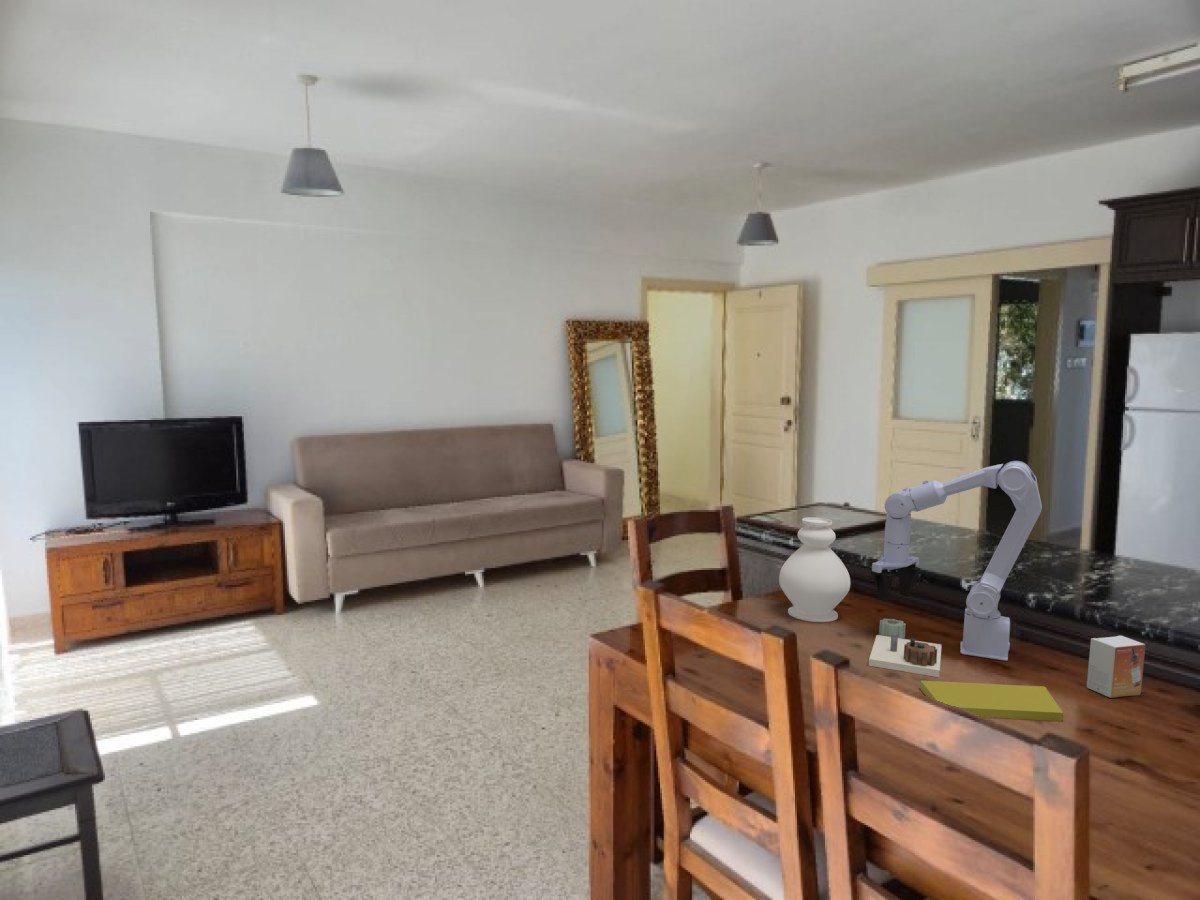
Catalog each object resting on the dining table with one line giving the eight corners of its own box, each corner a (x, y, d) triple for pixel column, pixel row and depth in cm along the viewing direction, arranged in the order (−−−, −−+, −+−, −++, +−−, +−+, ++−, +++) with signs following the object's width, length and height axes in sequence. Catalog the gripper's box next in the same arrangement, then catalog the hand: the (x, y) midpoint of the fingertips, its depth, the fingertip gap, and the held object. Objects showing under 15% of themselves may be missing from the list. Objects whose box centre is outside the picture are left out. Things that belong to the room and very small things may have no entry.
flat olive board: (941, 717, 144) (1076, 724, 142) (941, 706, 144) (1077, 713, 142) (919, 690, 156) (1044, 697, 154) (920, 680, 156) (1044, 686, 154)
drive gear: (936, 657, 169) (938, 637, 168) (935, 668, 163) (937, 647, 162) (904, 652, 171) (905, 633, 171) (902, 662, 165) (904, 642, 165)
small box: (1110, 699, 152) (1114, 647, 151) (1085, 687, 158) (1089, 637, 157) (1141, 695, 155) (1146, 644, 154) (1116, 684, 160) (1121, 634, 159)
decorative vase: (765, 606, 208) (768, 515, 205) (822, 601, 213) (827, 512, 211) (801, 628, 191) (805, 528, 189) (863, 622, 197) (868, 525, 194)
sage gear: (905, 634, 188) (906, 620, 188) (903, 641, 183) (904, 627, 183) (880, 630, 191) (881, 616, 190) (878, 637, 185) (878, 623, 185)
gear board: (941, 650, 177) (942, 627, 177) (939, 677, 162) (940, 651, 161) (876, 641, 183) (877, 618, 182) (868, 665, 168) (870, 641, 167)
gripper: (902, 536, 191) (899, 589, 193) (862, 542, 184) (859, 597, 185) (927, 541, 185) (924, 597, 187) (887, 548, 178) (884, 605, 179)
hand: (894, 598), depth 186 cm, fingers open, 7 cm apart
